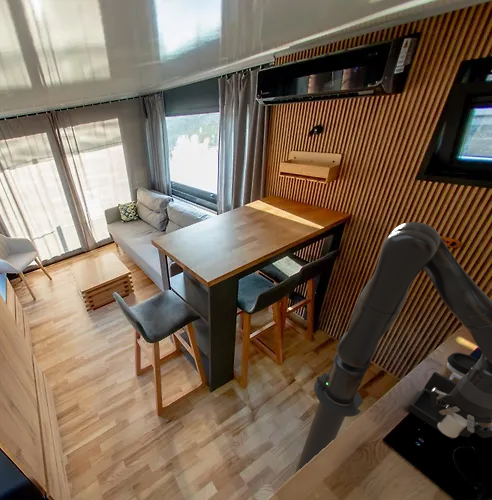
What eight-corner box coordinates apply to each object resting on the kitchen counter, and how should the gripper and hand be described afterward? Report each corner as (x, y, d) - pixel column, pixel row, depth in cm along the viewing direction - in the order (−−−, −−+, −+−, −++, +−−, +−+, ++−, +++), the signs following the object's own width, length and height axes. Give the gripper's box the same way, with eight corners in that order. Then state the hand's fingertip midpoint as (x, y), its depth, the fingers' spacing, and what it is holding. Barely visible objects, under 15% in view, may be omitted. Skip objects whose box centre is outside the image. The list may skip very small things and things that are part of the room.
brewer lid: (485, 400, 78) (493, 389, 79) (433, 372, 87) (441, 362, 88) (470, 415, 84) (478, 404, 85) (423, 387, 93) (431, 378, 94)
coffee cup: (459, 401, 91) (480, 376, 83) (428, 382, 98) (445, 357, 90) (471, 389, 93) (493, 364, 86) (440, 371, 100) (457, 347, 93)
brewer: (452, 440, 82) (457, 434, 80) (406, 409, 91) (410, 404, 90) (465, 420, 86) (470, 415, 84) (419, 393, 95) (423, 387, 93)
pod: (434, 428, 76) (444, 416, 73) (440, 420, 78) (450, 407, 74) (454, 440, 73) (465, 428, 69) (460, 432, 74) (471, 420, 71)
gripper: (434, 380, 70) (412, 413, 78) (520, 427, 59) (483, 459, 67) (446, 366, 73) (423, 399, 81) (530, 408, 61) (493, 441, 70)
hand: (450, 426), depth 74 cm, fingers closed on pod, 4 cm apart
